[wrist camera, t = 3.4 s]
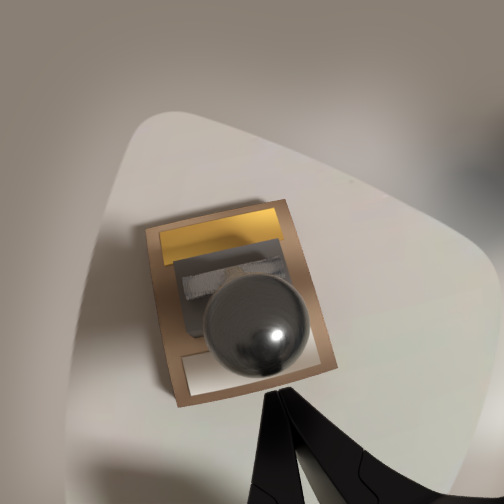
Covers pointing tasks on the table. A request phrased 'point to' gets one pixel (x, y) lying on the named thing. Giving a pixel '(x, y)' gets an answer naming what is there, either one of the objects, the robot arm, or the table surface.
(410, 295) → the table surface
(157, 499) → the table surface
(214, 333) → the lever
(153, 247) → the switch unit
